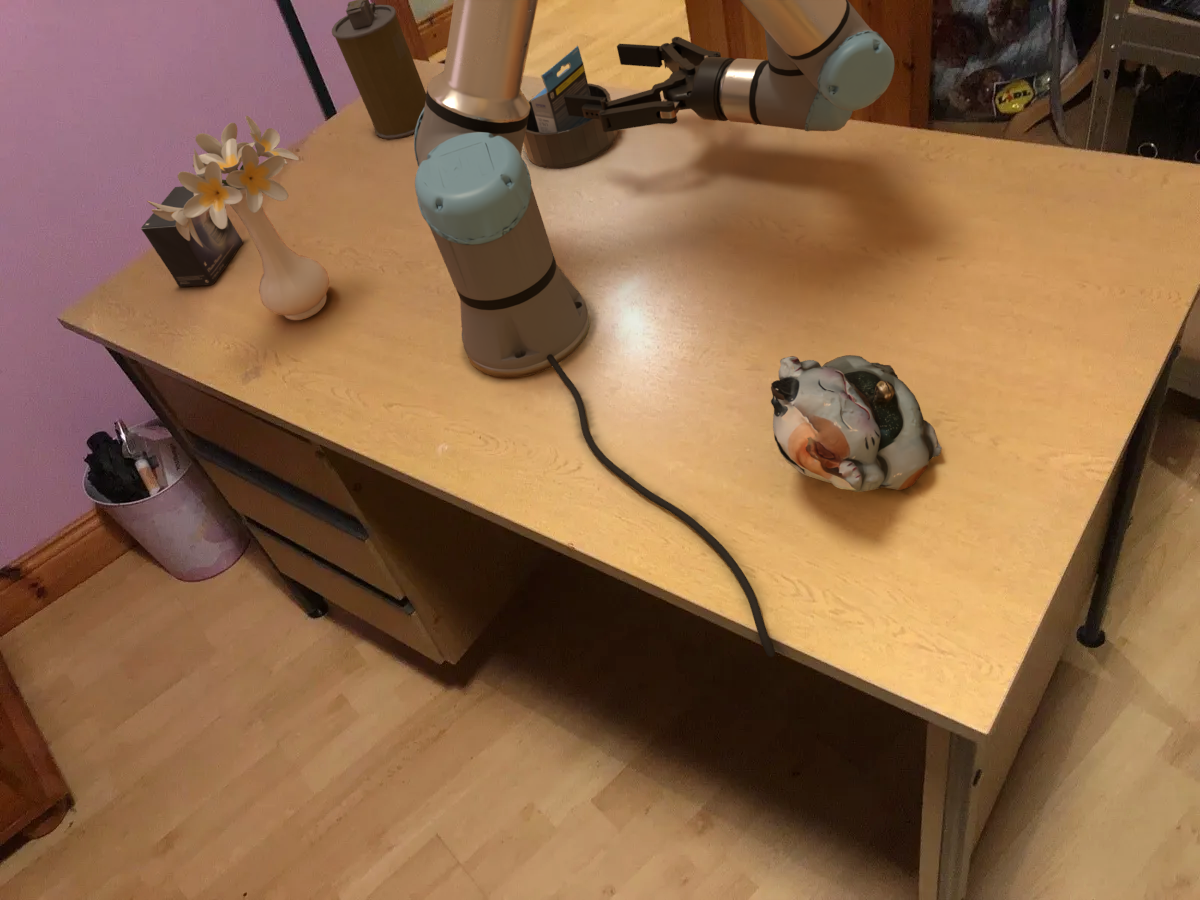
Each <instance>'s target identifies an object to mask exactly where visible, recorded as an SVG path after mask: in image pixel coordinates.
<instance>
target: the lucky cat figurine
mask: <svg viewBox="0 0 1200 900" xmlns="http://www.w3.org/2000/svg"><path fill="white" fill-rule="evenodd" d="M779 362H780V367H779V369H778V379H777V380H773V381H772V382H771V386H770V391H771V394H772V397H771V399H770V404H771V405H772V408H773V414H772V416H773V417H772V430H773V438H774V442H775V443H776V446H777V449H778V451H779V453H780V454H781V456H782V458H783V460H784V461H785V462H787V464H789V465H790V466H792V467H793V468H794V469H795V470H796V471H798V472H799V473H801V474H802V475H803V476H805V477H810V478H813V479H816V480H819V481H821V482H822V481H823V482H825V483H829V484H832V486H834V487H835V488H837V489H841V490H848V491H852V492H855V493H857V492H858V493H860V492H868V491H873V490H879V489H883V488H885V489H890V490H891V489H892V490H897V491H903V490H905V489H910V488H911V487H912V486H914V485H915V483H916V482H917V481H918V480H919V478H920V477H921V476H922V475H923V473H924V472H925V471H926V470H927V469H928V468H929V462H930V461H932V459H933V458H936V457H939V456H940V455H941V452H942V450H943V449H942V448H943V447H942V446H941V444H940V442H939V439H938V435H937V433H936V429H935V428H934V427H933V425H932V424H931V423H930V422H928V421H927V420H926V419H924V416H923V415H924V414H923V413H922V409H921V406H920V403H919V401H918V399H917V398H916V395H915V394H914V393H913V391H912V390H911V389H910V388H909V387H908V386H907V384H905V382H904V381H903V380H902V379H900V378H899V377H898V374H896V372H895V370H894V368H893V367H892V366H891V365H890V364H883V363H879V362H870V361H868V360H867V359H865V358H864V357H863V356H860V355H856V354H855V355H854V354H849V355H848V354H847V355H846V354H845V355H841V356H837V357H835V358H834V359H831V360H829V361H827V362H825V363H824V364H823V365H821V363H820V362H819V361H817V360H814V359H806V360H802V361H800V359H799V358H798V357H797V356H794V355H791V356H786V357H783V358H781V359H780V360H779Z"/></svg>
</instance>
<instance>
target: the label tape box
mask: <svg viewBox="0 0 1200 900" xmlns="http://www.w3.org/2000/svg"><path fill="white" fill-rule="evenodd" d="M567 65H568V66H569V67H568V68H566V69H564V70H563V71H562V72H561V73H560V74H558V73H559V72H560V71H561V70H562V67H563V68H565V67H566V66H567ZM540 77H541V80H542V83H543V85H544V88H543V89H542V90H540V92H538V93H537V94H536V95H535V96H534V97H532V98H531V99H532V100H531V99H530V100H531V103H532V107H533V111H534V114H535V118H536V121H537V125H538V129H539V132H540V133H550V132H559V131H563V130H567V129H571V128H573V127H576V126H579V125H581V124H583V123H585V122H587V121H589V120H591V119H589V118H585V117H579V116H570V115H568V111H567V107H566V104H565V100H564V96H565V95H566V94H574V95H584V96H590V91H589V87H588V83H589V82H588V79H587V73H586V70H585V65H584V60H583V59H582V55H581V51H580V48H579V45H576V46H575V47H574V48H573V49H572V50H570V52H569V53H567V54H565V56H564V57H562V58H561V59H559V61H557V62H556V63H555V64H554V65H552V66H551V67H550V68H549V69H548V70H546V71H545V72H543V73H542V74H541V75H540Z"/></svg>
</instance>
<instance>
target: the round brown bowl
mask: <svg viewBox="0 0 1200 900" xmlns="http://www.w3.org/2000/svg"><path fill="white" fill-rule="evenodd" d="M588 87H589V91H590V96H594V97H605V98H607V100H608V102H609V101H612V99H611V98H612V97H611V94H610V93H609V91H608V90H607V89H606V88H605V87H603V86H601V85H599V84H594V83H589V82H588ZM532 99H533V98H531V99H530V100H528V102H529V104H530V112H529V117H528V122H527V127H526V132H525V137H524V142H523V147H524V151H525V153H526V156H527V159H528V160H529V161H530V162H531V163H532V164H534V165H535V166H538V167H541V168H545V169H565V168H570V167H571V168H572V167H576V166H579V165H582V164H586V163H587V162H590V161H592V160H594V159H597V158H598V157H600V156H601V155H603V154H604V153H606V152H607V151H608V150H609V149H610V148H611V147H613V144H614V143H615V142H616V140H617V138H618V135H619V130H615V131H609V132H604V131H603V130H602V126H601V122H600V120H598V119H591V120H589V121H587V122H585V123H583V124H581V125H579V126H576V127H573V128H571V129H567V130H563V131H559V132H550V133H540V132H539V129H538V125H537V121H536V118H535V114H534V111H533V107H532V103H531V100H532ZM612 109H613V108H612Z"/></svg>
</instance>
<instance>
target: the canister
mask: <svg viewBox="0 0 1200 900" xmlns="http://www.w3.org/2000/svg"><path fill="white" fill-rule="evenodd" d="M345 12H346V15H345V16H343V17H342V18H340V19H339V20H338V21H337V22H336V23H334V24H333V26H332V28H331V35H332V36H333V38H335V40H336V42H337V45H338V47H339V49H340V52H341V55H342V56H343V58H344V61H345V63H346V66H347V68H348V70H349V72H350V74H351V77H352V79H353V81H354V84H355V86H356V88H357V90H358V93H359V95H360V97H361V99H362V102H363V104H364V106H365V108H366V111H367V113H368V115H369V118H370V120H371V122H372V124H373V128H374V133H375V135H376V136H378V137H380V138H381V139H386V140H391V139H402V138H406V137H409V136H411V135H413V134H414V135H415V129H416V126H417V122H418V119H419V116H420V114H421V112H422V110H423V109H424V107H425V101H426V93H427V91H426V90H425V87H424V83H423V81H422V79H421V77H420V74H419V71H418V69H417V66H416V64H415V60H414V59H413V55H412V54H411V51H410V48H409V45H408V43H407V40H406V38H405V37H406V36H405V35H404V32H403V30H402V27H401V25H400V22H399V19H398V17H397V11H396V8H395V7H394V6H392V5H390V4H376V3H375V2H370V1H369V0H352V1H348V3H347V7H346V10H345Z"/></svg>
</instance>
